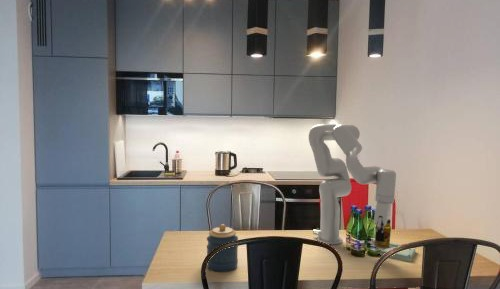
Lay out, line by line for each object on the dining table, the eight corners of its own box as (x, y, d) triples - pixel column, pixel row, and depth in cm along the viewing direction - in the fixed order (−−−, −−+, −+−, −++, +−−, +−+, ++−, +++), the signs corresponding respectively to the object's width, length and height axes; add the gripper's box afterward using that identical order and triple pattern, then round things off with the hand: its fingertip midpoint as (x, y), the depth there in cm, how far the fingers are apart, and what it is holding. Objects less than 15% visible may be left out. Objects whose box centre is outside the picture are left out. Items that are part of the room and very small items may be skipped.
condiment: (380, 249, 148) (382, 222, 147) (367, 241, 156) (369, 215, 155) (394, 248, 150) (396, 221, 149) (381, 240, 158) (383, 215, 157)
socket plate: (377, 254, 160) (377, 248, 160) (384, 246, 172) (384, 240, 171) (410, 261, 152) (410, 255, 152) (415, 252, 164) (415, 246, 164)
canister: (207, 273, 138) (208, 229, 137) (205, 260, 151) (205, 220, 150) (240, 271, 141) (240, 228, 139) (235, 258, 153) (235, 219, 152)
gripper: (380, 193, 160) (377, 231, 162) (370, 200, 145) (367, 242, 147) (397, 196, 156) (394, 235, 158) (389, 204, 141) (386, 246, 143)
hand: (381, 238), depth 152 cm, fingers closed on condiment, 6 cm apart
